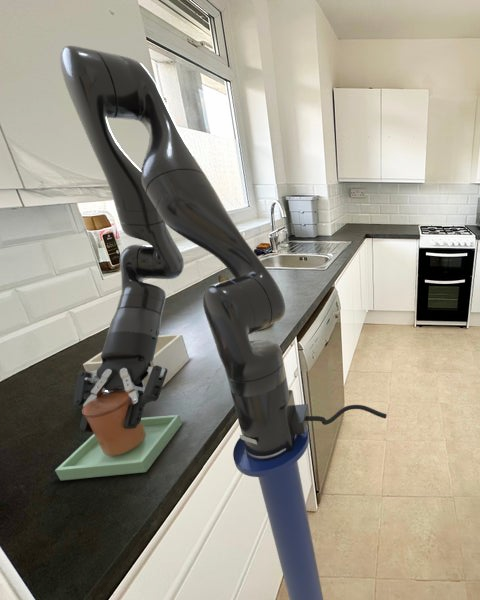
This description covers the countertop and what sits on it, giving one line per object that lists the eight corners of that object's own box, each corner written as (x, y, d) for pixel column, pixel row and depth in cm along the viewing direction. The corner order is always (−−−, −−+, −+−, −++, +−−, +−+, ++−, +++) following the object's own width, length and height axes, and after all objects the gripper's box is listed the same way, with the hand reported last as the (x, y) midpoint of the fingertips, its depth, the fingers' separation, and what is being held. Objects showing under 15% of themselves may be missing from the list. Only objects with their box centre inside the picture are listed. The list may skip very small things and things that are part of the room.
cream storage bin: (189, 359, 85) (182, 334, 83) (162, 387, 74) (151, 359, 71) (132, 363, 84) (123, 337, 81) (95, 393, 72) (82, 364, 70)
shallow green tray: (182, 423, 63) (179, 414, 62) (146, 472, 52) (141, 462, 51) (111, 429, 61) (107, 420, 61) (60, 480, 51) (54, 470, 50)
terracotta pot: (154, 427, 60) (139, 388, 56) (131, 454, 54) (112, 413, 50) (119, 430, 59) (101, 391, 56) (92, 458, 53) (70, 416, 50)
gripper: (75, 332, 56) (41, 434, 49) (160, 327, 57) (138, 425, 50) (109, 344, 63) (82, 434, 56) (184, 338, 64) (167, 426, 57)
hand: (109, 429), depth 53 cm, fingers closed on terracotta pot, 6 cm apart
